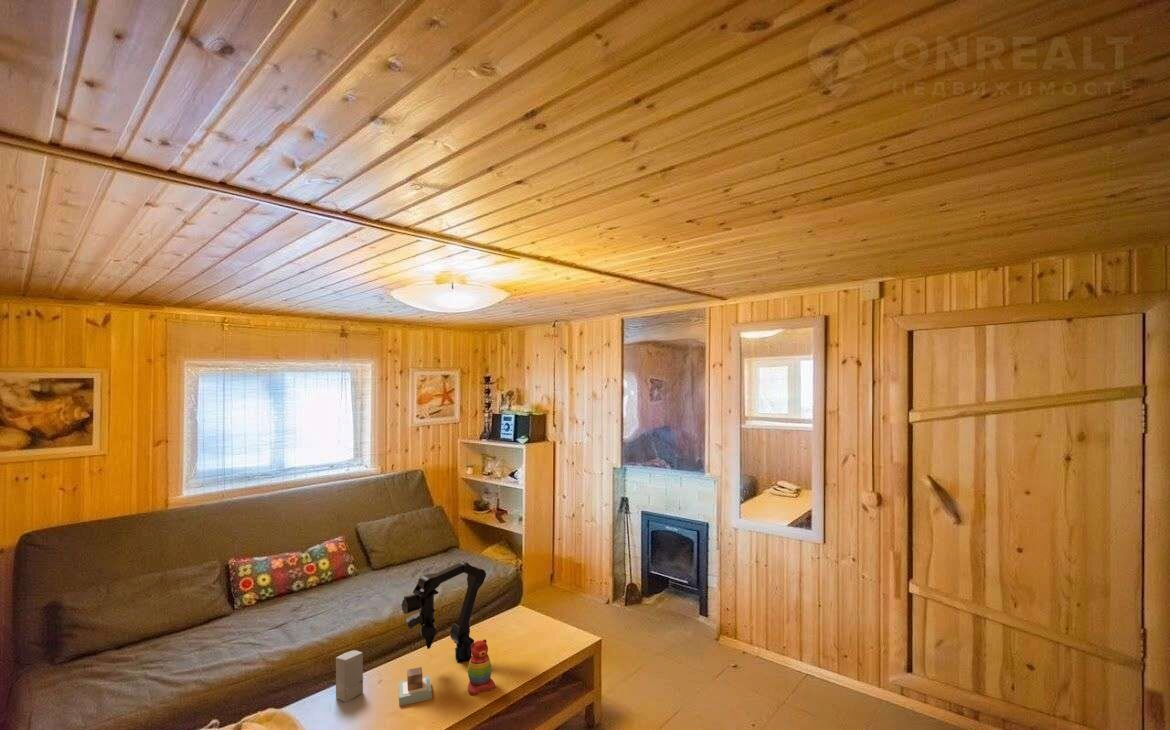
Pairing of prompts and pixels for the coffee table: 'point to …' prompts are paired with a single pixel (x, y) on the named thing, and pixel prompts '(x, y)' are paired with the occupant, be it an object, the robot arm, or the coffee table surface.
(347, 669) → the skincare box
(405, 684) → the base slab
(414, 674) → the walnut cube
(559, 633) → the coffee table surface
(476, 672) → the stacking bear
